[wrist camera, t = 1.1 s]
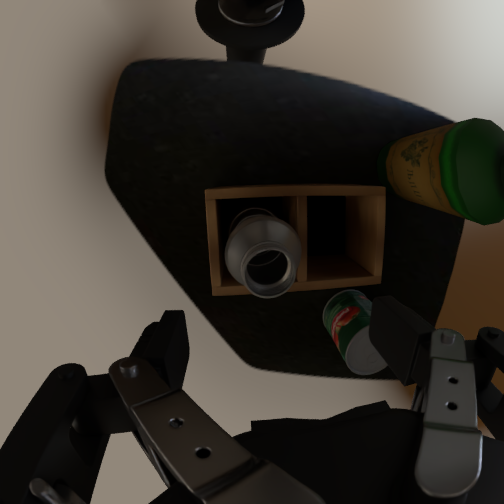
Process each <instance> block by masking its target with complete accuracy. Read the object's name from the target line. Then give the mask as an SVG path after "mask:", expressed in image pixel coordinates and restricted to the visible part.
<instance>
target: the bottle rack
mask: <svg viewBox="0 0 504 504" xmlns="http://www.w3.org/2000/svg"><path fill="white" fill-rule="evenodd" d="M337 195H343V196H346V221H345V254H339V255H321V256H307V196H337ZM276 196H282V216H283V221H285V222H286V223H288V224H289V225H290V226H291V227H292V228H293V229H294V230H295V231H296V233H297V235H298V236H299V239H300V242H301V250H302V251H301V259H300V263H299V266H298V268H297V270H296V277H295V281H294V283H293V284H292V286H291V287H290V288H289V290H287V291H286V292H290V291H304V290H317V289H329V288H340V287H351V286H362V285H372V284H381V275H382V264H383V250H384V234H385V204H386V187H381V186H370V185H358V184H269V185H243V186H223V187H212V188H209V189H206V190H205V199H206V216H207V231H208V245H209V258H210V271H211V282H212V294H213V296H221V295H242V294H252V293H251V292H250V291H249V290H248V289H247V288H246V286H244V285H243V284H241V283H239V282H238V281H237V280H236V279H235V278H234V277H233V276H232V275H231V274H230V272H229V270H228V268H227V266H226V262H225V257H224V241H223V224H222V206H221V199H228V198H249V197H276Z"/></svg>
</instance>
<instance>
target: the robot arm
mask: <svg viewBox="0 0 504 504" xmlns="http://www.w3.org/2000/svg"><path fill="white" fill-rule="evenodd" d="M283 3H284V0H218V7H219V11H220V13H221V14H222V16H223V17H224V18H225V19H226V20H228V21H230V22H231V23H233V24H236V25H239V26H244V27H258V26H263V25H266V24H269V23H271V22H273V21H274V20H275V19H277V18H278V16H279V15H280V13H281V11H282V7H283ZM369 339H370V342H371V344H372V345H373V346H374V348H375V349H376V350H377V351H378V353H379V354H380V355H381V357H382V358H383V359H384V360H385V362H386V363H387V364H388V366H389V367H390V368H391V369H392V371H393V372H394V373H395V375H396V376H397V377H398V379H399V380H400V381H401V383H402V384H403V385H404V386H408V385H411V384H414V383H417V386H416V389H415V392H414V396H413V401H412V405H411V409H410V410H408V409H397V408H395V409H394V408H392V409H391V408H390V407H389V405H388V404H387V402H386V401H385V400H384V401H380V402H376V403H372V404H368V405H363V406H359V407H355V408H353V409H350V410H348V411H346V412H343V413H341V414H338V415H335V416H333V417H330V418H328V419H322V420H319V419H294V418H282V419H271V420H257V421H251V431H249V432H244V433H242V434H239V435H236V436H234V437H231V436H230V435H229V434H228V433H227V432H226V431H224V430H223V429H222V428H221V427H220V426H219V425H218V424H217V423H216V422H215V421H214V420H213V419H212V418H211V417H210V416H209V415H207V414H206V413H205V412H204V411H203V410H202V409H201V408H200V407H199V406H198V405H197V404H196V403H195V402H194V401H193V400H192V399H191V398H190V397H189V396H188V395H187V394H186V393H185V391H183V390H182V386H183V381H184V377H185V373H186V369H187V364H188V360H189V340H188V334H187V327H186V320H185V314H184V311H183V310H165V312H164V314H163V315H162V317H161V320H160V321H159V322H153V323H151V324H150V325H148V326H147V327H146V328H145V329H144V331H143V333H142V336H140V338H139V340H138V342H137V343H136V345H135V347H134V349H133V351H132V353H131V354H130V356H129V357H125V358H122V359H119V360H117V361H116V362H114V363H113V364H112V365H111V366H110V368H109V373H107V374H101V375H92V376H87V373H86V370H85V368H84V367H83V366H82V365H80V364H76V363H68V364H64V365H61V366H59V367H57V368H55V369H54V370H53V371H52V372H51V373H50V374H49V376H48V377H47V379H46V380H45V381H44V383H43V384H42V386H41V387H40V388H39V390H38V391H37V393H36V394H35V396H34V397H33V398H32V400H31V401H30V403H29V405H28V406H27V407H26V409H25V410H24V412H23V413H22V415H21V416H20V418H19V420H18V421H17V423H16V424H15V426H14V427H13V429H12V431H11V432H10V434H9V436H8V437H7V439H6V441H5V442H4V444H3V445H2V447H1V449H0V504H90V502H91V498H92V494H93V491H94V487H95V484H96V480H97V477H98V473H99V470H100V466H101V463H102V459H103V456H104V453H105V450H106V447H107V444H108V441H109V438H110V435H111V434H115V433H124V432H132V433H133V435H134V436H135V438H136V440H137V441H138V443H139V445H140V446H141V448H142V449H143V451H144V452H145V454H146V455H147V457H148V458H149V460H150V461H151V463H152V464H153V466H154V467H155V469H156V470H157V472H158V474H159V475H160V477H161V479H162V480H163V482H164V483H165V485H166V486H167V487H168V489H167V490H165V491H164V492H163V493H162V494H160V495H159V496H158V497H157V498H155V499H154V500H153V501H151V502H150V503H149V504H504V394H502V393H501V392H500V391H499V390H498V389H497V388H496V387H495V386H494V384H493V383H492V382H491V380H492V377H493V375H494V373H495V370H496V368H497V367H498V368H499V369H500V370H501V371H502V372H503V373H504V332H503V331H501V330H500V329H497V328H494V327H483V328H481V329H480V330H479V332H478V335H477V339H476V340H464V337H463V336H462V335H461V334H460V333H459V332H457V331H455V330H452V329H446V328H441V329H437V330H436V329H435V328H434V327H433V326H432V325H430V324H429V323H428V322H427V321H425V320H424V319H422V317H421V316H419V315H417V313H416V312H414V311H413V310H412V309H410V308H408V307H406V306H403V305H402V304H401V303H400V302H398V301H397V300H396V299H395V298H393V297H392V296H383V297H375V298H374V299H373V302H372V309H371V316H370V324H369ZM477 415H478V416H479V418H480V419H481V420H482V422H483V423H484V424H485V426H486V427H487V428H488V429H489V431H490V432H491V433H492V435H493V436H494V437H495V439H493V438H489V437H487V436H484V435H482V432H481V431H480V430H478V429H477ZM70 427H71V428H70Z"/></svg>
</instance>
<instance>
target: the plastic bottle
mask: <svg viewBox="0 0 504 504" xmlns="http://www.w3.org/2000/svg"><path fill="white" fill-rule="evenodd" d="M227 235H228V241H227V243H226V247H225V262H226V266H227V268H228V270H229V272H230V274H231V275H232V276H233V277H234V278H235V279H236V280H237V281H238V282H239V283H241V284H243V285H244V286H246V288H247V289H248V290H249V291H250V292H251V293H252V294H254V295H255V296H258V297H261V298H274V297H277V296H280V295H282V294H283V293H285V292H286V291H287V290H289V288H290V287H291V286H292V284H293V283H294V281H295V277H296V270H297V268H298V266H299V263H300V259H301V251H302V250H301V242H300V239H299V236H298V235H297V233H296V231H295V230H294V229H293V228H292V227H291V226H290V225H289V224H288V223H286V222H285V221H283V220H281V219H279V218H278V217H277V215H276V214H275V213H274V212H273V211H272V210H271V209H270V208H268V207H266V206H264V205H261V204H249V205H245V206H243V207H241V208H239V209H238V210H237V211H236V212H234V214H233V215H232V216H231V218H230V220H229V222H228V226H227Z"/></svg>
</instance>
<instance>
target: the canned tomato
mask: <svg viewBox="0 0 504 504" xmlns="http://www.w3.org/2000/svg"><path fill="white" fill-rule="evenodd" d="M371 309H372V302H371V301H370V300H369V299H368V298H367V297H366V296H365V295H364V294H363V293H361V292H360V291H357V290H344V291H341V292H339V293H337V294H336V295H334V296H333V297H332V298H331V299H330V300H329V301H328V303H327V304H326V306H325V308H324V311H323V322H324V325H325V327H326V328H327V330H328V332H329V333H330V335H331V337H332V339H333V341H334V342H335V344H336V346H337V347H338V350H339V351H340V353H341V355H342V356H343V358H344V360H345V361H346V364H347V366H348V367H349V369H350V370H351V371H353V372H354V373H356V374H360V375H369V374H373V373H376V372H378V371H380V370H382V369H383V368H385V367H386V366H387V365H388V364H387V363H386V362H385V360H384V359H383V358H382V357H381V355H380V354H379V353H378V351H377V350H376V349H375V348H374V346H373V345H372V344H371V342H370V339H369V324H370V316H371Z"/></svg>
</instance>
